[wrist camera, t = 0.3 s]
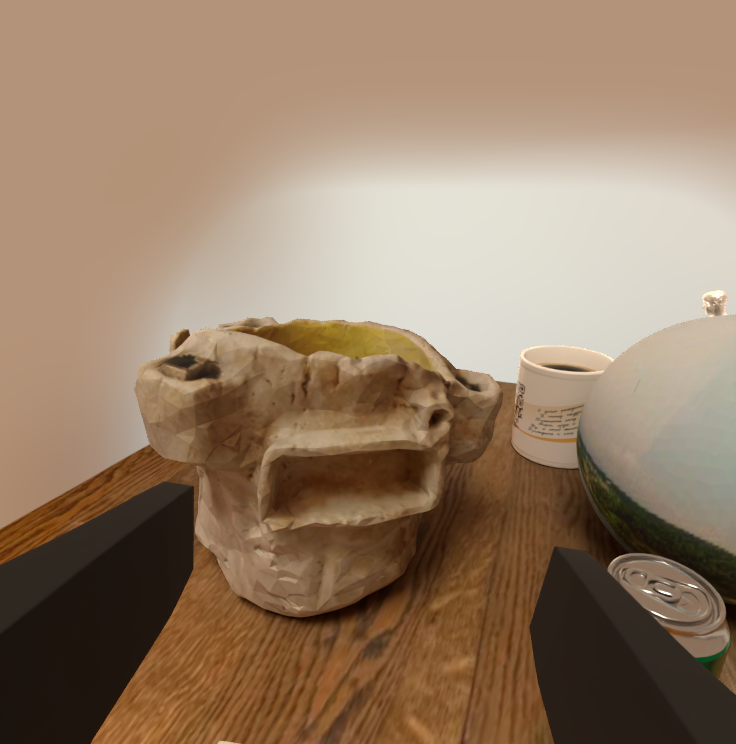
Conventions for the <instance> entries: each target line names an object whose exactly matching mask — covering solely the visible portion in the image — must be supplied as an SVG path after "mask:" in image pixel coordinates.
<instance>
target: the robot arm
mask: <svg viewBox="0 0 736 744" xmlns="http://www.w3.org/2000/svg"><path fill="white" fill-rule="evenodd" d="M193 543H194V486H188V485H182V484H176V483H170V482H163V483H161V484H158V485H156V486H154V487H152V488H150V489H148V490H146V491H144V492H143V493H141V494H139V495H137V496H135V497H133V498H131V499H129V500H127V501H126V502H124V503H122V504H120V505H118V506H116V507H114V508H113V509H111V510H109V511H107V512H105V513H103V514H101V515H100V516H98V517H96V518H94V519H92V520H90V521H88V522H86V523H84V524H82V525H81V526H79V527H77V528H75V529H73V530H71V531H69V532H67V533H65V534H63V535H61V536H60V537H57V538H55V539H53V540H51V541H49V542H47V543H45V544H43V545H41V546H39V547H37V548H35V549H33V550H31V551H29V552H27V553H24V554H22V555H20V556H18V557H16V558H14V559H12V560H10V561H8V562H6V563H4V564H2V565H0V744H90V743H91V742H92V740H93V738H94V737H95V735H96V733H97V732H98V730H99V729H100V727H101V726H102V724H103V722H104V721H105V719H106V718H107V716H108V715H109V713H110V711H111V710H112V708H113V707H114V705H115V704H116V702H117V700H118V699H119V697H120V696H121V694H122V693H123V691H124V689H125V688H126V686H127V685H128V683H129V682H130V680H131V678H132V677H133V675H134V674H135V672H136V671H137V669H138V667H139V666H140V664H141V663H142V661H143V660H144V658H145V656H146V655H147V653H148V652H149V650H150V649H151V647H152V645H153V644H154V642H155V641H156V639H157V637H158V636H159V634H160V633H161V631H162V629H163V628H164V626H165V624H166V623H167V621H168V620H169V618H170V616H171V614H172V612H173V610H174V608H175V606H176V604H177V602H178V600H179V598H180V596H181V594H182V592H183V590H184V588H185V585H186V583H187V581H188V579H189V577H190V575H191V572H192V570H193ZM530 633H531V640H532V647H533V654H534V661H535V667H536V672H537V678H538V684H539V688H540V692H541V695H542V699H543V703H544V706H545V710H546V714H547V717H548V721H549V725H550V728H551V732H552V736H553V739H554V743H555V744H736V695H735V694H734V693H733V692H732V691H730V690H729V689H728V688H727V687H726V686H725V685H724V684H723V683H722V682H721V681H719V680H718V679H717V678H716V677H715V676H714V675H713V674H712V673H711V672H710V671H708V670H707V669H706V668H705V667H704V666H703V665H702V664H701V663H700V662H699V661H698V660H697V659H696V658H695V657H694V656H693V655H692V654H690V653H689V652H688V651H687V650H686V649H685V648H684V647H683V646H682V645H681V644H680V643H679V642H678V641H677V640H676V639H675V638H674V637H673V636H672V635H671V634H670V633H669V632H668V631H667V630H666V629H665V628H664V627H663V626H662V625H661V624H660V623H659V622H658V621H657V620H656V619H655V618H654V617H653V616H652V615H651V614H650V613H649V612H648V611H647V610H646V609H645V608H644V607H643V606H642V605H641V604H640V603H639V602H638V601H637V600H636V599H635V598H634V597H633V596H632V595H631V594H630V593H629V592H628V591H627V590H626V589H625V588H624V587H623V586H622V585H621V584H620V583H619V582H618V581H617V580H616V579H615V578H614V577H613V576H612V575H611V574H610V573H609V572H608V571H607V570H606V569H605V568H604V567H603V566H602V565H601V564H600V563H599V562H597V561H596V560H595V559H594V558H593V557H592V556H591V555H590V554H589V553H588V552H586V551H580V550H574V549H568V548H562V547H556V546H555V547H554V550H553V553H552V557H551V560H550V563H549V566H548V570H547V573H546V576H545V579H544V582H543V586H542V589H541V592H540V595H539V598H538V602H537V605H536V608H535V611H534V615H533V618H532V621H531V624H530Z"/></svg>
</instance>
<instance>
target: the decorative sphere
mask: <svg viewBox="0 0 736 744" xmlns="http://www.w3.org/2000/svg"><path fill="white" fill-rule="evenodd" d="M576 447H577V461H578V468H579V472H580V477H581V480H582V484H583V486H584V489H585V492H586V495H587V497H588V499H589V501H590V503H591V505H592V507H593V509H594V511H595V512H596V514H597V516H598V517H599V519H600V520H601V522H602V523H603V525H604V526H605V527H606V528H607V530H608V531H609V532H610V534H611V535H612V536H613V537H614V538H615V539H616V540H617V541H618V543H619V544H620V545H621V546H622V547H623V548H624V549H625V550H626V551H628V552H629V553H645V554H652V555H656V556H661V557H664V558H667V559H670V560H673V561H675V562H678V563H680V564H682V565H684V566H686V567H688V568H689V569H691V570H693V571H694V572H696V573H697V574H699V575H700V576H702V577H703V578H704V579H705V580H707V581H708V582H709V583H710V584H711V585H712V586H713V587H714V588H715V589H716V591H717V592H718V593H719V594H720V596H721V598H722V600H723V602H724V603H728V604H733V605H736V315H722V316H713V317H706V318H700V319H695V320H691V321H687V322H683V323H680V324H676V325H673V326H671V327H668V328H666V329H663V330H661V331H658V332H656V333H654V334H652V335H650V336H648V337H646V338H644V339H642V340H641V341H639V342H638V343H636V344H634V345H633V346H631V347H630V348H629V349H627V350H626V351H625V352H623V353H622V354H621V355H620V356H619V357H618V358H616V359H615V360H614V361H613V362H612V363H611V364H610V365H609V366H608V367H607V369H606V370H605V371H604V372H603V373H602V374H601V376H600V377H599V378H598V380H597V381H596V383H595V385H594V386H593V388H592V389H591V391H590V393H589V395H588V397H587V399H586V401H585V404H584V406H583V409H582V413H581V416H580V419H579V425H578V430H577V442H576Z"/></svg>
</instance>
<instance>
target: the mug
mask: <svg viewBox="0 0 736 744" xmlns="http://www.w3.org/2000/svg"><path fill="white" fill-rule="evenodd" d="M613 361H614V360H613V359H612V358H610V357H609V356H607V355H605V354H602V353H599V352H596V351H593V350H589V349H584V348H578V347H570V346H557V345H550V346H549V345H548V346H537V347H532V348H528V349H526V350H524V351H522V353H521V354H520V361H519V371H518V380H517V390H516V400H515V409H514V419H513V428H512V438H511V442H512V446H513V447H514V449H515V450H516V451H517V452H518V453H519V454H520V455H522V456H524V457H525V458H527V459H529V460H531V461H534V462H536V463H539V464H542V465H546V466H550V467H556V468H566V469H575V468H578V461H577V447H576V442H577V430H578V425H579V419H580V416H581V413H582V409H583V406H584V404H585V401H586V399H587V397H588V395H589V393H590V391H591V389H592V388H593V386H594V385H595V383H596V381H597V380H598V378H599V377H600V376H601V374H602V373H603V372H604V371H605V370H606V369H607V367H608V366H609V365H610V364H611V363H612V362H613Z"/></svg>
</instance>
